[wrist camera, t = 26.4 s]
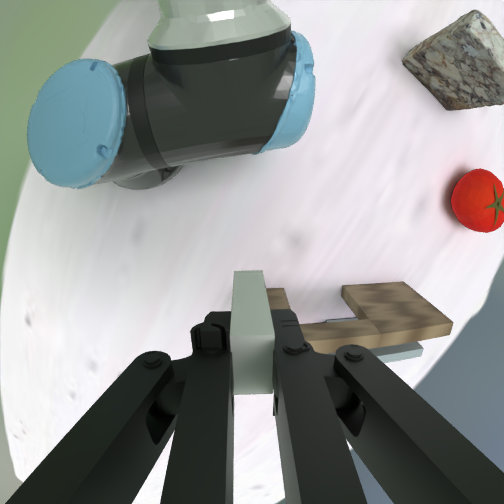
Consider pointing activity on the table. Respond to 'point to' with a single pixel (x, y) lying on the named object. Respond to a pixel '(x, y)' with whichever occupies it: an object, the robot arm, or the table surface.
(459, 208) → the tomato
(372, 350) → the gate
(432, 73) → the stone block
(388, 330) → the wall frame
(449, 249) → the table surface
